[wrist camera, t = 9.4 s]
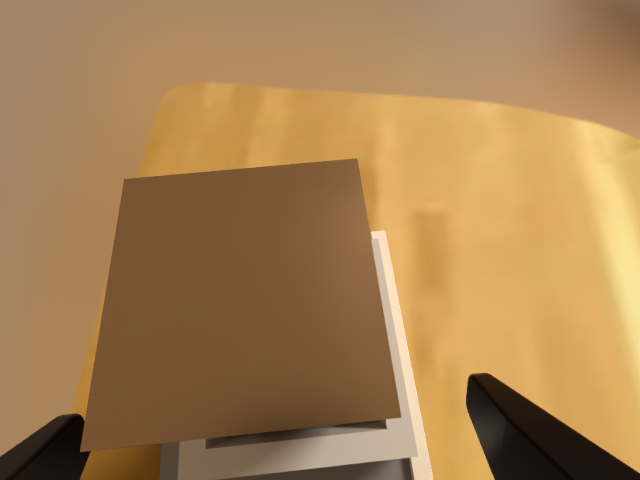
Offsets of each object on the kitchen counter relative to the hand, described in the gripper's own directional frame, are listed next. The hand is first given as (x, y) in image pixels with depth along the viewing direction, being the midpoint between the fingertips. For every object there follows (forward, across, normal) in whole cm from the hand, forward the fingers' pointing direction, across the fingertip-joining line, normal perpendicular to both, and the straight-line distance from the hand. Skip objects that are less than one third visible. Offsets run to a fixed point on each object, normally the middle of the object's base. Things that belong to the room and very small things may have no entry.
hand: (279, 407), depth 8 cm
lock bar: (+8, 0, +5) cm, 9 cm away
